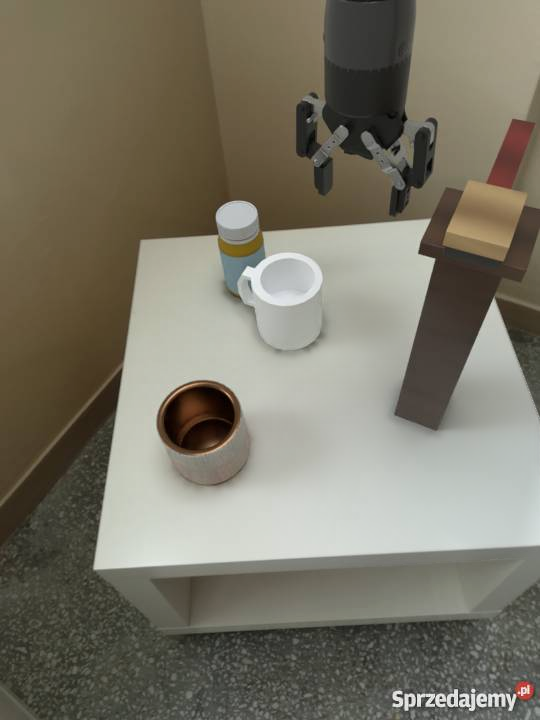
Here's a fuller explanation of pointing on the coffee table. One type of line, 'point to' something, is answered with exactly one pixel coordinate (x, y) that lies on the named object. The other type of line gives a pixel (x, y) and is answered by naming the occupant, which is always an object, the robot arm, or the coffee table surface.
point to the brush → (490, 206)
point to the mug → (285, 299)
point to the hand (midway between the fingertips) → (359, 201)
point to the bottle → (239, 241)
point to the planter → (204, 431)
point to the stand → (454, 312)
